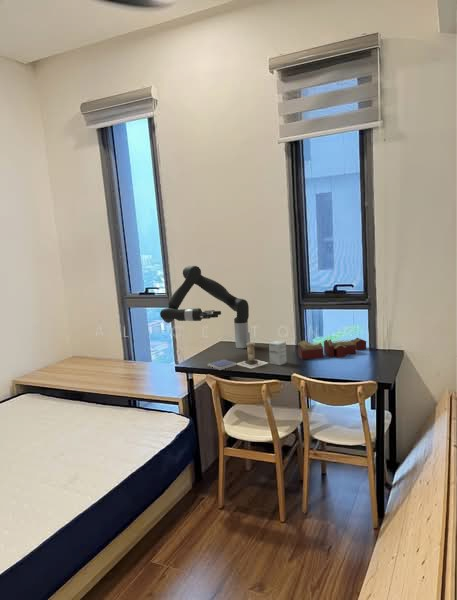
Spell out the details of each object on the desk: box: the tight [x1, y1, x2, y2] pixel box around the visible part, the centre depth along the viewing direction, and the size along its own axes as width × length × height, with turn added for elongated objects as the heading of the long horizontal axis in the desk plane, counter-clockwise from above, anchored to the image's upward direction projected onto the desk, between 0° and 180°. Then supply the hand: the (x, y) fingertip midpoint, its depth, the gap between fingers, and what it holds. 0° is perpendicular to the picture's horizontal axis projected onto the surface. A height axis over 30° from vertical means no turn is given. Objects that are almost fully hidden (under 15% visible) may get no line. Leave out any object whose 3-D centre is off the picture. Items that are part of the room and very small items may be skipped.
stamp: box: [244, 341, 258, 365], centre depth 266 cm, size 5×5×12 cm
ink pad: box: [207, 359, 237, 371], centre depth 267 cm, size 12×12×2 cm
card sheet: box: [236, 358, 269, 370], centre depth 267 cm, size 14×14×1 cm
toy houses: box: [297, 337, 368, 360], centre depth 278 cm, size 45×20×10 cm, turn 97°
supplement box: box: [268, 340, 287, 366], centre depth 264 cm, size 7×7×13 cm
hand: (219, 314), depth 269 cm, fingers open, 8 cm apart
